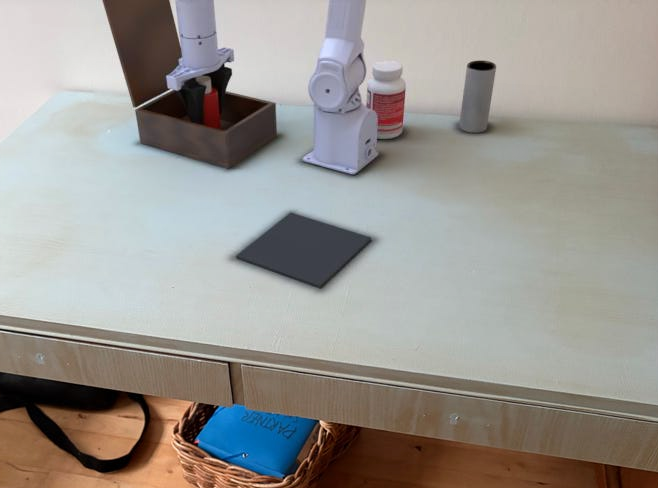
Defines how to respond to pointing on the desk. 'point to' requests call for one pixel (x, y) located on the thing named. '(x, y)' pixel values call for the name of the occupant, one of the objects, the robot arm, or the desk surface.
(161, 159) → the desk surface
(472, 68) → the grey tube
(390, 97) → the pill bottle
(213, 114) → the ketchup
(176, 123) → the brown wooden open box
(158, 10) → the brown box lid
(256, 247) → the mat
